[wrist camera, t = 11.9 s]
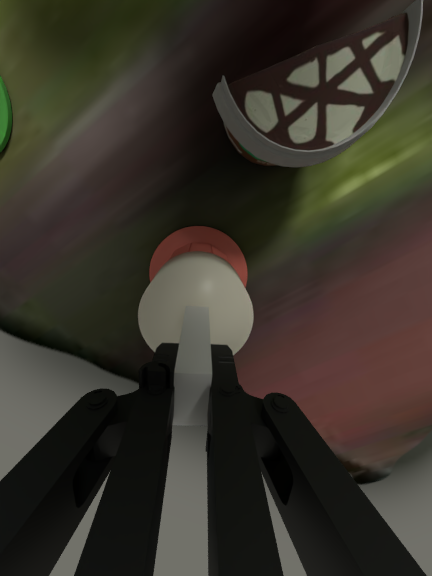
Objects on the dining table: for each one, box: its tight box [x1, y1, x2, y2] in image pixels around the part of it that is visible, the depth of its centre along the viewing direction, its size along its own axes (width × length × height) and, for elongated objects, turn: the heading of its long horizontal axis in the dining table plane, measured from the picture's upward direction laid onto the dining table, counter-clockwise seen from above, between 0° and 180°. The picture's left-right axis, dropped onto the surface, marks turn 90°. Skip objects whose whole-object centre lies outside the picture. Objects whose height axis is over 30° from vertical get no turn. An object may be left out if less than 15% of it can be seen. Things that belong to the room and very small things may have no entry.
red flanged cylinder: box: [149, 226, 247, 287], centre depth 24 cm, size 11×11×7 cm
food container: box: [212, 0, 423, 167], centre depth 19 cm, size 12×6×10 cm, turn 109°
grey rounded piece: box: [138, 251, 253, 355], centre depth 20 cm, size 8×8×7 cm
